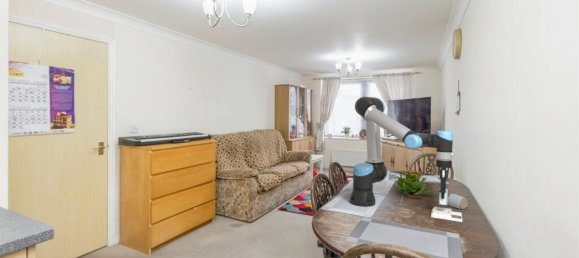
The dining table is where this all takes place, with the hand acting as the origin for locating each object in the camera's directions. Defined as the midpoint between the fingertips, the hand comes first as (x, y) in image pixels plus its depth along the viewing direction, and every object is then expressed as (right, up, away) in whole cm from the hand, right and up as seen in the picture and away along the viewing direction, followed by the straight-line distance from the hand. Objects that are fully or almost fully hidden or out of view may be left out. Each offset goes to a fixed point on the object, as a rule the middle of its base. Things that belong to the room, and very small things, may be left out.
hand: (442, 203), depth 156 cm
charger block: (0, 0, 0) cm, 0 cm away
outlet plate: (+1, -7, -2) cm, 7 cm away
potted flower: (0, -5, +37) cm, 37 cm away
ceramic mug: (+16, -6, +14) cm, 22 cm away
